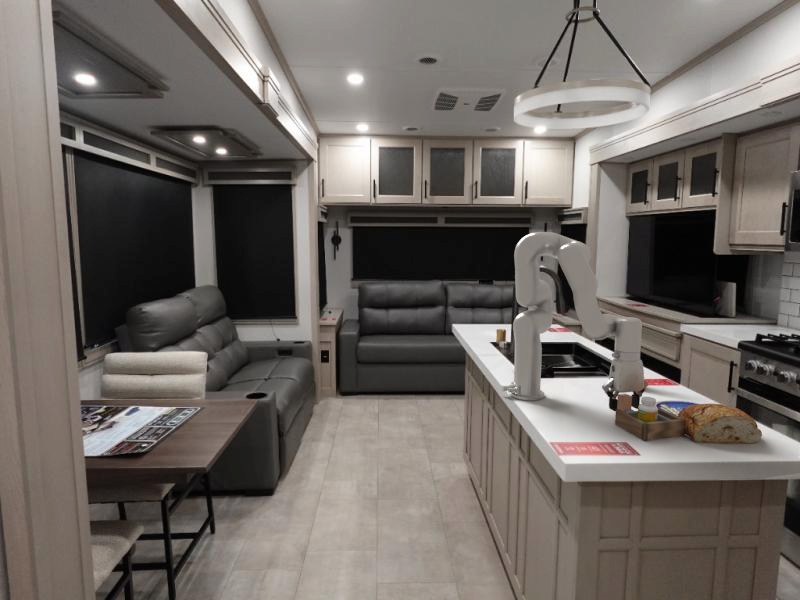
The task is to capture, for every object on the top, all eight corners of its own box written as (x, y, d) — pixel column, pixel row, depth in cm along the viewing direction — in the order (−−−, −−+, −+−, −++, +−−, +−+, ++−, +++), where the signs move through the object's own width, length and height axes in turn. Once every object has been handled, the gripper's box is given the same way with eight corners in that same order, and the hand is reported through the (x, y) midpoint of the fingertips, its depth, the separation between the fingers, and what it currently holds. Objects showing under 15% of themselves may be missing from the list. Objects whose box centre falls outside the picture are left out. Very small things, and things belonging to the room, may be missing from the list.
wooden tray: (644, 441, 141) (645, 424, 141) (614, 424, 154) (615, 409, 153) (684, 436, 145) (686, 420, 144) (653, 420, 157) (654, 405, 156)
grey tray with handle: (644, 437, 143) (645, 414, 142) (605, 416, 160) (606, 395, 159) (675, 433, 146) (677, 410, 145) (634, 413, 163) (636, 392, 162)
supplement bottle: (634, 429, 150) (636, 398, 149) (640, 424, 154) (642, 394, 153) (653, 434, 146) (655, 402, 145) (658, 429, 150) (661, 398, 149)
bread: (691, 444, 140) (693, 410, 139) (666, 420, 158) (668, 390, 156) (770, 448, 137) (773, 414, 136) (736, 423, 155) (738, 393, 153)
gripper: (610, 360, 152) (607, 415, 154) (658, 356, 156) (655, 410, 158) (595, 354, 159) (593, 407, 161) (642, 351, 163) (638, 402, 165)
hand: (624, 408), depth 160 cm, fingers open, 7 cm apart
